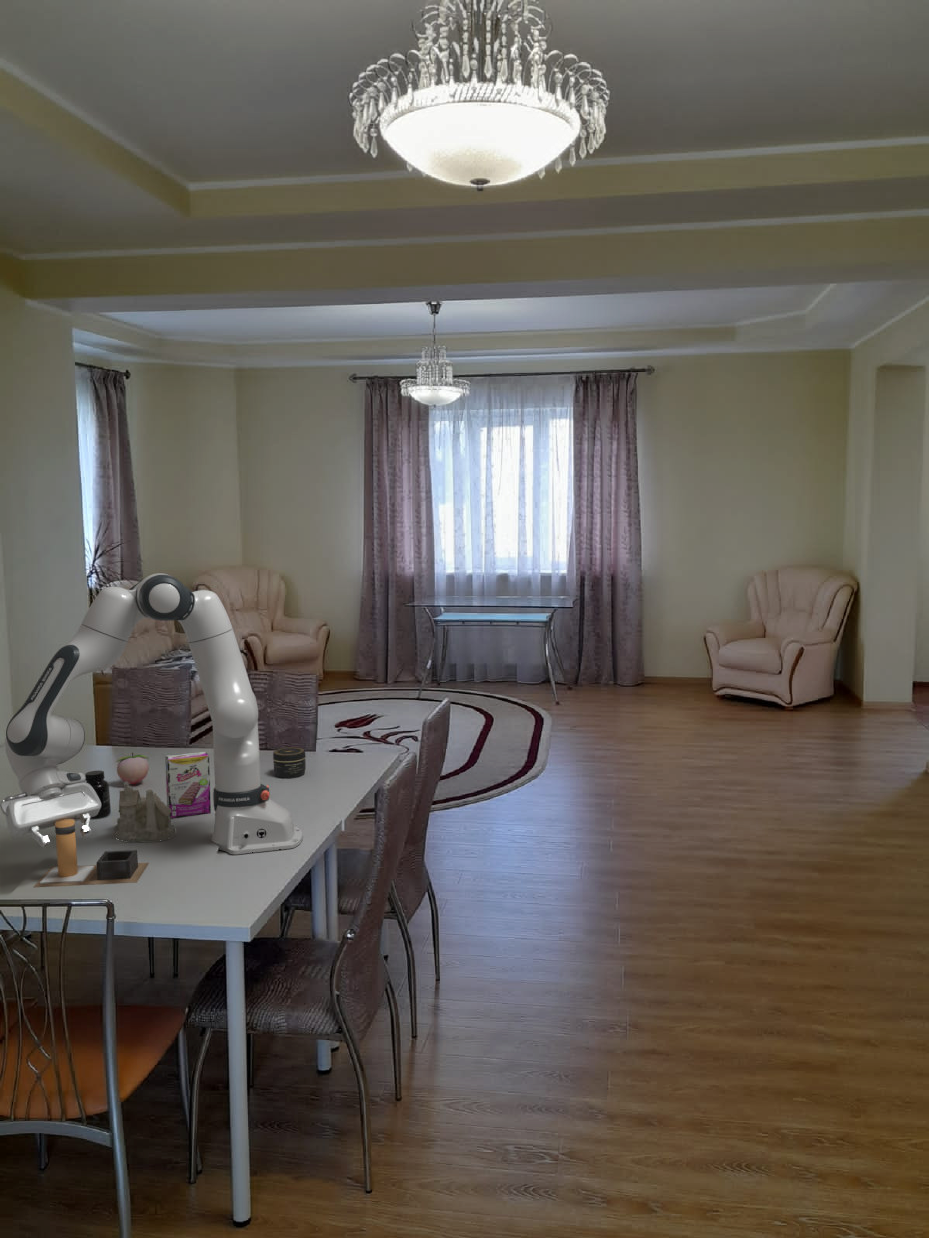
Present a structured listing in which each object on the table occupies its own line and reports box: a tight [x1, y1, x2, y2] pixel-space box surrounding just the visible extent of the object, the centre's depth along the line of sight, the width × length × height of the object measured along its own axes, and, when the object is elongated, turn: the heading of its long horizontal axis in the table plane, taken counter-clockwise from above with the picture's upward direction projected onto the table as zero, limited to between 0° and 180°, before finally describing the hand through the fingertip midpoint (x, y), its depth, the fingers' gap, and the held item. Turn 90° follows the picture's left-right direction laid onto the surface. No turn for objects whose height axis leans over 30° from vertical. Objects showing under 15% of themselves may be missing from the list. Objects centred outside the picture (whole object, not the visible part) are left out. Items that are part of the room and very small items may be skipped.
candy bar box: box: [164, 751, 212, 819], centre depth 266 cm, size 11×5×16 cm, turn 115°
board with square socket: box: [33, 849, 150, 888], centre depth 219 cm, size 22×12×6 cm, turn 95°
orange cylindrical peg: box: [54, 819, 78, 877], centre depth 218 cm, size 4×4×12 cm
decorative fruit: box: [116, 752, 150, 786], centre depth 295 cm, size 9×8×10 cm
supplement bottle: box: [84, 770, 112, 820], centre depth 266 cm, size 7×7×12 cm
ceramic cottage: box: [114, 781, 177, 843], centre depth 252 cm, size 16×16×15 cm
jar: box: [272, 747, 307, 780], centre depth 304 cm, size 10×10×8 cm
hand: (66, 839), depth 217 cm, fingers open, 8 cm apart
